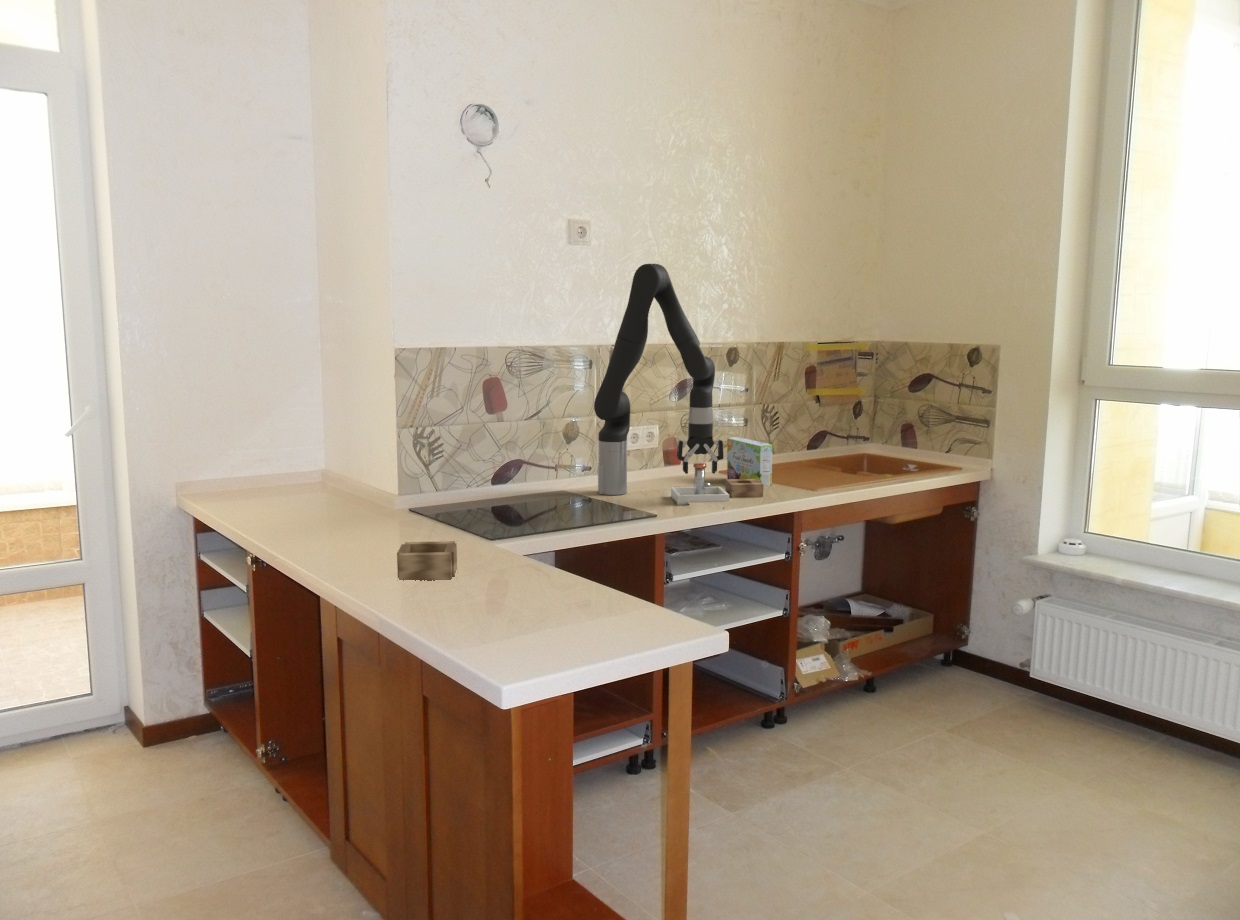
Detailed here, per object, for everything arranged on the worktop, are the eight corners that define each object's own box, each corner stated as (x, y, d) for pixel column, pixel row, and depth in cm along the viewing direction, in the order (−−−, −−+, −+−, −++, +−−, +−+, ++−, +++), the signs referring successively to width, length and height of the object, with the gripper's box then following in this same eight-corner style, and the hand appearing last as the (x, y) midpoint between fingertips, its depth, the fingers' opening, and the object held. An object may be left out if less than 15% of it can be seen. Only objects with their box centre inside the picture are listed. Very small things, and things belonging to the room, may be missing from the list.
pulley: (697, 496, 307) (697, 485, 306) (693, 492, 314) (694, 481, 313) (719, 496, 307) (719, 485, 307) (715, 492, 314) (715, 481, 314)
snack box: (725, 479, 338) (726, 437, 336) (739, 478, 341) (740, 436, 338) (758, 489, 319) (759, 444, 317) (772, 488, 322) (774, 443, 319)
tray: (677, 505, 293) (677, 495, 292) (670, 496, 306) (671, 487, 306) (729, 504, 294) (729, 494, 294) (720, 495, 308) (720, 486, 307)
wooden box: (731, 500, 300) (731, 484, 299) (725, 494, 310) (725, 479, 309) (763, 500, 301) (763, 484, 300) (755, 494, 311) (756, 478, 310)
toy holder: (396, 587, 204) (395, 555, 203) (404, 572, 216) (403, 542, 215) (453, 586, 205) (452, 554, 204) (457, 571, 217) (457, 541, 216)
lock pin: (694, 499, 298) (694, 465, 296) (692, 497, 302) (692, 462, 300) (706, 499, 298) (707, 464, 297) (704, 497, 302) (705, 462, 300)
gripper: (679, 423, 292) (679, 475, 295) (725, 422, 293) (724, 475, 296) (676, 420, 300) (675, 471, 302) (721, 420, 301) (720, 471, 303)
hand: (699, 473), depth 299 cm, fingers open, 8 cm apart
